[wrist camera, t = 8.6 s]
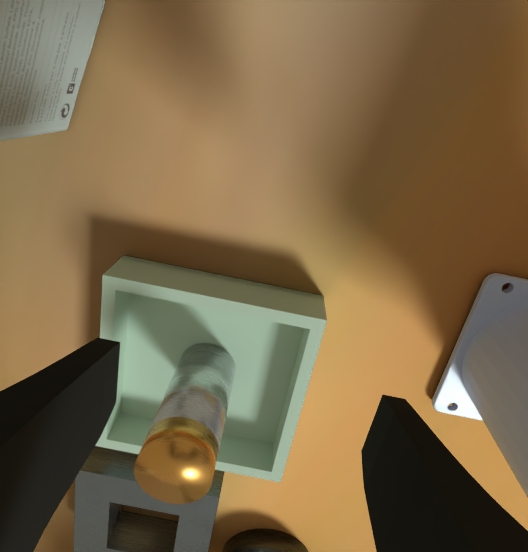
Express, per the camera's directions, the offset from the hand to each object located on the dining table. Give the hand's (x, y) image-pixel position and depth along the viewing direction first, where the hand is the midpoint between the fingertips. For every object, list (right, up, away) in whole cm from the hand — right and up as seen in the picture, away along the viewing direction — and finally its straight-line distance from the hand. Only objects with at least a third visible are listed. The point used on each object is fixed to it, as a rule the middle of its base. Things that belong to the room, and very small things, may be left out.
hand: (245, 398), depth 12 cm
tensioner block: (-3, -13, +16) cm, 21 cm away
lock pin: (-3, -2, +11) cm, 11 cm away
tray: (-2, -1, +11) cm, 12 cm away
